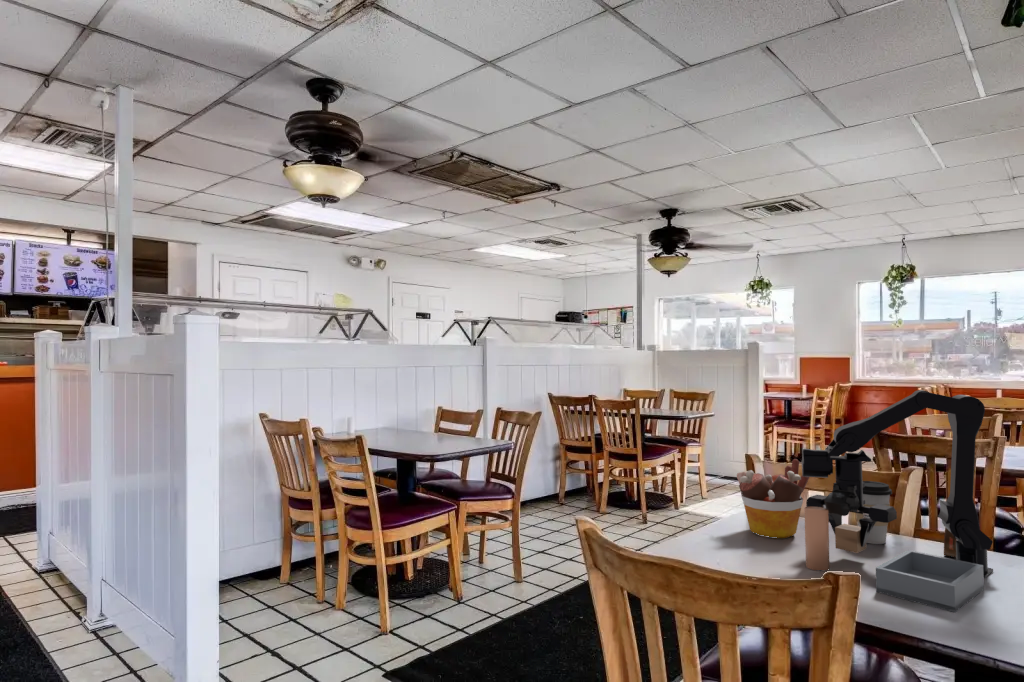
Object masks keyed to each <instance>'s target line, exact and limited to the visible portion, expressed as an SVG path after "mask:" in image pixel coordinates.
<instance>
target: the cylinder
mask: <svg viewBox="0 0 1024 682" xmlns="http://www.w3.org/2000/svg"><path fill="white" fill-rule="evenodd" d="M829 524H830V522H829V519H828V509H826V508H822V507H806V506H805V507H804V536H805V537H804V541H805V543H804V544H805V545H804V547H805V568H807V569H809V570H812V571H816V570H826V571H825V572H827V571H829V570H830V568H831V566H830V532H829V531H830V529H829V528H830V527H829V526H830V525H829ZM828 569H829V570H828Z"/></svg>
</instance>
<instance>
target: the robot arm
mask: <svg viewBox="0 0 1024 682" xmlns="http://www.w3.org/2000/svg"><path fill="white" fill-rule="evenodd" d="M925 409H930V410H934V411H938V412H944V413H946V414H947V420H948V423H949V426H950V431H951V434H952V444H951V445H952V446H951V463H950V485H949V486H950V487H949V488H950V490H949V495H948V497H947V499H946V500H942V499H940V500H939V507H940V511H939V514H938V516H937V517H938V518H939V519H940V520H941V523H942V525H943V526H944V528H945V527H946V528H947V529H948V530H949V531H950V532H951V533H952V534H953V536H954V538H956V539H957V541H956V557H955V558H956V559H955V560H960V561H965V562H970V563H975V564H980V565H983V574H984V578H986V577H988V576H989V575H990V574H991V573H993V572H994V568H991V567H988V564H989V563H988V551H989V550H991V547H992V544H993V540H992V538H990V537H989V536H988V535H987V534H985V533H984V532H983V531H982V530H981V529H980V528H981V527H980V521H979V515H978V510H977V508H976V504H975V502H974V480H975V463H976V462H975V458H976V440H977V439H976V438H977V435H978V432H979V431H980V429H981V427H982V423H983V421H984V417H985V414H986V413H985V412H986V407H985V404H984V403H983V402H982V401H981V400H980V399H978V398H977V397H975V396H970V395H966V394H957V395H954V396H948V395H943V394H938V393H934V392H933V393H932V392H931V391H927V390H925V389H917V390H915V391H914V392H912V394H910V395H908V396H906V397H904V398H902V399H901V400H899V401H897V402H895V403H893V404H891V405H889V406H888V407H886V408H884V409H881V410H880V411H878V412H876V413H875V414H873V415H870V416H869V417H867V418H864V419H860V420H857V421H852V422H849V423H847V424H843V425H840V426H838V427H837V428H836V429H835V430H834V432H833V439H832V440H831V441H830V443H829V444H828V445H827V446H826V447H825V449H810V448H803V449H802V455H801V457H802V458H801V459H802V460H801V476H803V477H809V478H822V479H823V478H824V479H827V478H829V476H831V475H833V474H834V471H835V482H834V483H832V484H833V485H832V491H831V492H829V494H828V495H822V494H815V495H811V496H809V497H808V498H807V499H806V501H805V502H806V503H805V504H806V505H805V507H822V508H826V509H828V519H829V524H830V526H831V529H832V531H833V533H834V535H835V527H837V526H840V525H842V524H843V519H842V518H843V517H846V516H848V515H850V514H849V513H855V514H856V513H859V514H863V518H862V519H859V522H860V524H861V533H860V543H861V547H864V546H865V543H866V541H867V539H868V536H869V534H870V532H871V530H872V528H873V526H874V525H875V523H876V522H883V523H888V524H889V523H891V522H893V521H895V520H897V519H898V517H897V510H896V509H895V507H894V506H891V505H890V506H885V505H879V504H877V505H875V506H872V507H866V506H863V505H864V504H865V500H863V487H865V483H863V482H862V481H863V462H871V461H872V458H871V457H870V456H869V455H867V454H866V452H865V451H864V450H863V449H862V448H863V447H864V446H866V444H868V443H869V442H870V441H871V440H872V439H873V438H874V437H875V436H876V435H878V434H879V433H881V432H883V431H884V430H887V429H888V428H890V427H892V426H895V425H896V424H898V423H900V422H902V421H904V420H905V419H908V418H909V417H911V416H913V415H916V414H917V413H919V412H921V411H922V410H925ZM860 449H861V450H860ZM859 450H860V451H859ZM857 451H859V452H857ZM833 461H835V464H834V463H833ZM834 465H835V468H834ZM834 469H835V470H834ZM866 544H867V543H866Z"/></svg>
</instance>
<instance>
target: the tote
mask: <svg viewBox="0 0 1024 682" xmlns="http://www.w3.org/2000/svg"><path fill="white" fill-rule="evenodd" d="M984 581H985V577H984V574H983V565H980V564H975V563H970V562H965V561H960V560H956V559H955V558H949V557H947V556H945V557H944V556H939V555H937V554H930V553H925V552H921V551H917V550H911V549H908V550H906V551H904V552H902V553H899V554H898V555H896V556H895V557H893V558H891V559H889V560H887V561H886V562H884V563H883V562H882V564H880V565H879V566H877V567H876V566H875V586H876V587H875V589H876V590H875V591H876V593H878V594H879V593H880V594H882V595H887V596H892V597H895V598H897V599H902V600H906V601H909V602H914V603H917V604H922V605H925V606H929V607H931V608H932V607H933V608H937V609H940V610H944V611H947V612H948V611H949V612H952V613H956V612H958V611H959V610H960V609H962V608H963V607H964V606H965V605H967V602H968V603H969V602H971V600H973V599H974V598H975V597H976V596H978V595H979V594H980V593H981V592H982V590H983V591H984V590H985V582H984ZM977 594H978V595H977ZM972 598H973V599H972Z"/></svg>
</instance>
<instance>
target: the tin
mask: <svg viewBox="0 0 1024 682" xmlns="http://www.w3.org/2000/svg"><path fill="white" fill-rule="evenodd" d="M943 536H944V537H943V538H944V539H943V556H944V555H946V556H945V557H950V556H952V557H951V558H956V541H957V539H956V538H954V536H953V534H952V533H951V532H950V531H949V530H948V529H947V528H946V527H945V526H944V534H943Z"/></svg>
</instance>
